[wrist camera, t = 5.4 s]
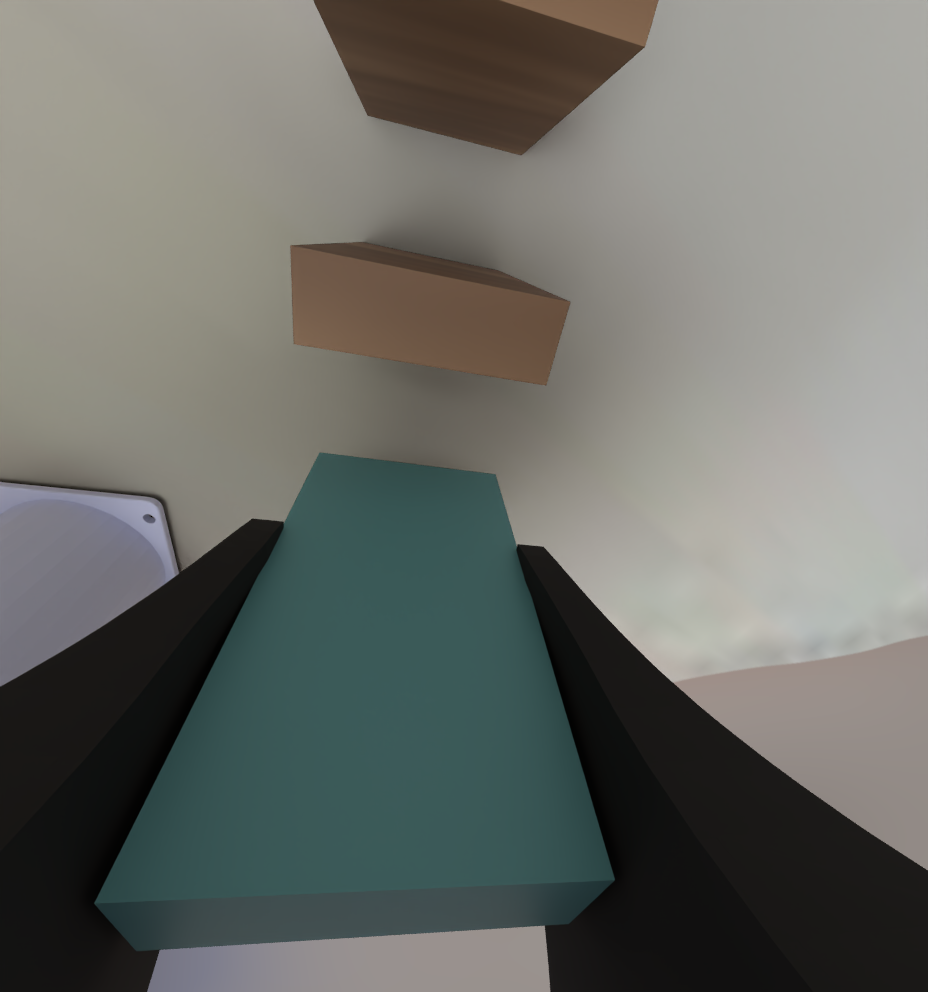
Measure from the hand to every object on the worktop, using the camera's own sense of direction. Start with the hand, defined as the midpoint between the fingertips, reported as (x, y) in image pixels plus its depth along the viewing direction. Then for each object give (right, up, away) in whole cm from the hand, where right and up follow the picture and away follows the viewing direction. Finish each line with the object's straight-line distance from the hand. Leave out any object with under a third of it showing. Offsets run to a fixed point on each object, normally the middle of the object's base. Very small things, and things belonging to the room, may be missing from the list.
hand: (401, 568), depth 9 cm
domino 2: (0, +10, +6) cm, 11 cm away
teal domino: (0, +2, +3) cm, 3 cm away
